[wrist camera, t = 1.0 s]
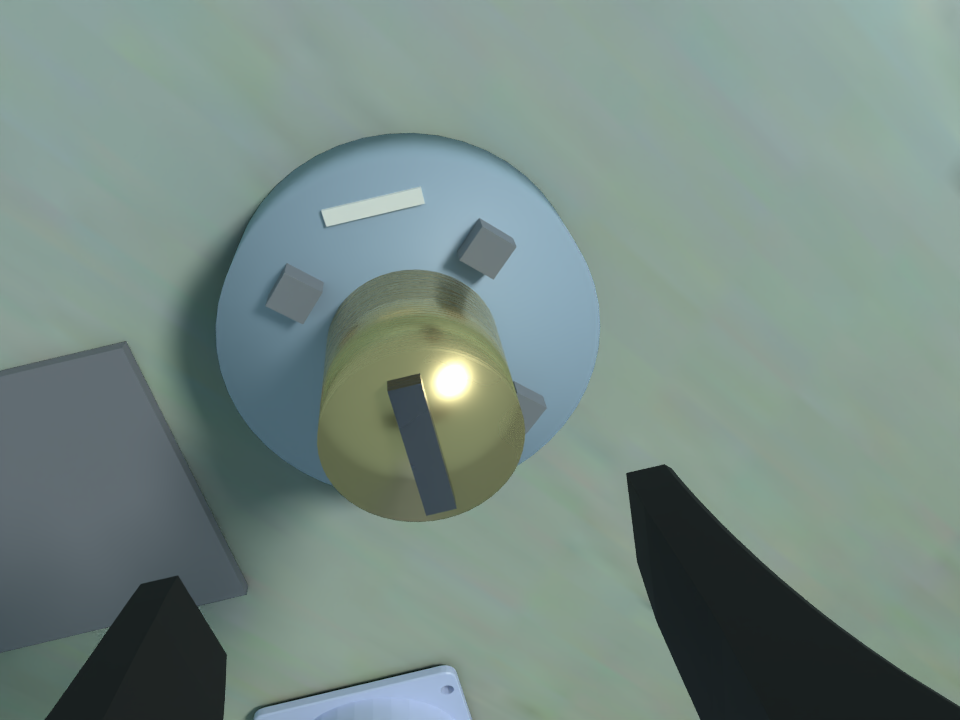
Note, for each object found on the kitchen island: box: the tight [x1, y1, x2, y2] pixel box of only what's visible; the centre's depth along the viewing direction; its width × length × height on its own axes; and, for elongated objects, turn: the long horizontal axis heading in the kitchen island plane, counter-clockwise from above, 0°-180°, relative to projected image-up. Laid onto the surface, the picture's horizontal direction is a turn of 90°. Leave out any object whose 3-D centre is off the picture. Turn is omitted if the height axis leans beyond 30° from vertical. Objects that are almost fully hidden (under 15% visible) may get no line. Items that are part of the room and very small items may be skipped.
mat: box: [0, 341, 248, 653], centre depth 25 cm, size 10×10×1 cm
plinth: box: [216, 133, 600, 485], centre depth 21 cm, size 10×10×3 cm
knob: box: [317, 269, 525, 522], centre depth 19 cm, size 4×4×5 cm
